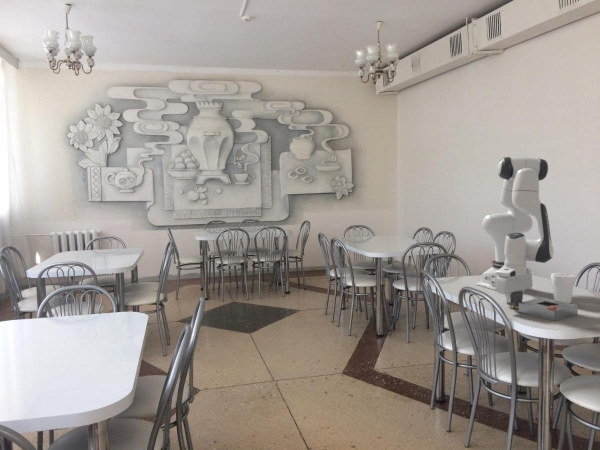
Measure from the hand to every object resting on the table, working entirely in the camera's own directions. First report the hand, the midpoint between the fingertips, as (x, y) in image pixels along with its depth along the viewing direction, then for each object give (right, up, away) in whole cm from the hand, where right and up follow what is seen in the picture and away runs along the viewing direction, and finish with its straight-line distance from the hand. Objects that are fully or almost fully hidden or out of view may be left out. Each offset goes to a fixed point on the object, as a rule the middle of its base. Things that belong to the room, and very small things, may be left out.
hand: (514, 301), depth 213 cm
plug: (0, -3, 0) cm, 3 cm away
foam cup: (+24, -2, +6) cm, 25 cm away
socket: (+10, -4, -9) cm, 14 cm away
